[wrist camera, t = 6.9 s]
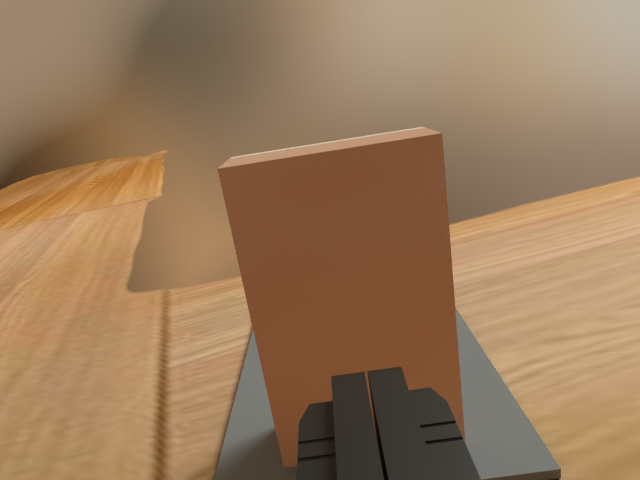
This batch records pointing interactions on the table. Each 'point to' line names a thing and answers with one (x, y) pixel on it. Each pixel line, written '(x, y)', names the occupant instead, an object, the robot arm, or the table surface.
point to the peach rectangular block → (346, 267)
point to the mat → (478, 411)
